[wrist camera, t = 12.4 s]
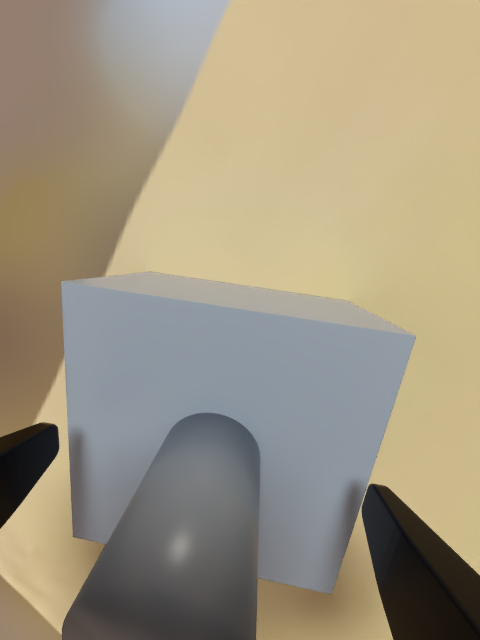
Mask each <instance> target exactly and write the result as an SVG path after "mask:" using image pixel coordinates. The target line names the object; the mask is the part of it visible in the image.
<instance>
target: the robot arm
mask: <svg viewBox="0 0 480 640" xmlns="http://www.w3.org/2000/svg"><path fill="white" fill-rule="evenodd" d="M58 451H59V435H58V427H57V426H56V425H55V424H50V423H38V424H36V425H33V426H30V427H27V428H25V429H22V430H19V431H16V432H14V433H11V434H8V435H5V436H3V437H0V529H1V527H2V526H3V525H4V524H5V523H6V522H7V520H8V519H9V518H10V517H11V516H12V514H13V513H14V512H15V511H16V509H17V508H18V507H19V505H20V504H21V503H22V502H23V500H24V499H25V498H26V496H27V495H28V494H29V492H30V491H31V489H32V488H33V487H34V485H35V484H36V483H37V481H38V480H39V479H40V477H41V476H42V475H43V473H44V472H45V471H46V469H47V468H48V467H49V465H50V464H51V463H52V461H53V460H54V459H55V457H56V456H57V454H58ZM362 518H363V523H364V527H365V532H366V536H367V541H368V545H369V550H370V554H371V559H372V563H373V568H374V572H375V577H376V581H377V585H378V589H379V593H380V596H381V600H382V603H383V607H384V610H385V613H386V617H387V620H388V623H389V626H390V630H391V633H392V636H393V639H394V640H480V575H479V574H478V573H477V572H476V571H475V570H474V569H472V568H471V567H470V566H469V565H468V564H467V563H466V562H465V561H464V560H463V559H462V558H461V557H460V556H459V555H458V554H457V553H456V552H455V551H454V550H453V549H452V548H451V547H450V546H449V545H447V544H446V543H445V542H444V541H443V540H442V539H441V538H440V537H439V536H438V535H437V534H436V533H435V532H434V531H433V530H432V529H431V528H430V527H429V526H428V525H427V524H426V523H425V522H424V521H423V520H421V519H420V518H419V517H418V516H417V515H416V514H415V513H414V512H413V511H412V510H411V509H410V508H409V507H408V506H407V505H406V504H405V503H404V502H403V501H402V500H401V499H400V498H399V497H398V496H396V495H395V494H394V493H393V492H392V491H391V490H390V489H389V488H388V487H386V486H383V485H378V484H370V485H369V486H368V489H367V492H366V495H365V498H364V502H363V505H362Z"/></svg>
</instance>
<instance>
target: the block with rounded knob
mask: <svg viewBox="0 0 480 640" xmlns="http://www.w3.org/2000/svg"><path fill="white" fill-rule="evenodd" d="M61 287H62V308H63V329H64V330H63V331H64V352H65V374H66V395H67V417H68V438H69V460H70V481H71V503H72V524H73V537H76V538H80V539H85V540H89V541H94V542H98V543H103V544H106V545H105V547H104V549H103V551H102V553H101V554H100V556H99V558H98V560H97V561H96V563H95V565H94V567H93V569H92V570H91V572H90V574H89V576H88V578H87V579H86V581H85V583H84V585H83V586H82V588H81V590H80V592H79V594H78V595H77V597H76V599H75V601H74V603H73V604H72V606H71V608H70V610H69V611H68V613H67V615H66V617H65V620H64V623H63V627H62V640H256V614H257V578H260V579H264V580H269V581H273V582H278V583H282V584H287V585H291V586H295V587H300V588H304V589H309V590H313V591H318V592H322V593H327V594H331V595H332V591H333V588H334V585H335V582H336V579H337V576H338V573H339V570H340V567H341V564H342V561H343V558H344V555H345V552H346V549H347V546H348V543H349V540H350V537H351V534H352V531H353V528H354V524H355V521H356V518H357V515H358V512H359V509H360V506H361V503H362V500H363V497H364V494H365V491H366V488H367V485H368V482H369V479H370V476H371V473H372V470H373V467H374V464H375V460H376V457H377V454H378V451H379V448H380V445H381V442H382V439H383V436H384V433H385V430H386V427H387V424H388V421H389V418H390V415H391V412H392V409H393V406H394V403H395V400H396V396H397V393H398V390H399V387H400V384H401V381H402V378H403V375H404V372H405V369H406V366H407V363H408V360H409V357H410V354H411V351H412V348H413V345H414V342H415V339H416V335H414V334H412V333H410V332H408V331H406V330H404V329H402V328H400V327H398V326H396V325H394V324H392V323H390V322H388V321H386V320H384V319H383V318H381V317H379V316H377V315H375V314H373V313H371V312H369V311H367V310H365V309H363V308H361V307H359V306H357V305H355V304H353V303H351V302H349V301H346V300H339V299H333V298H326V297H319V296H312V295H305V294H298V293H292V292H285V291H278V290H271V289H264V288H257V287H251V286H244V285H237V284H230V283H223V282H216V281H210V280H203V279H196V278H189V277H182V276H175V275H169V274H162V273H155V272H143V273H134V274H125V275H116V276H107V277H99V278H90V279H81V280H72V281H63V282H61Z"/></svg>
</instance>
